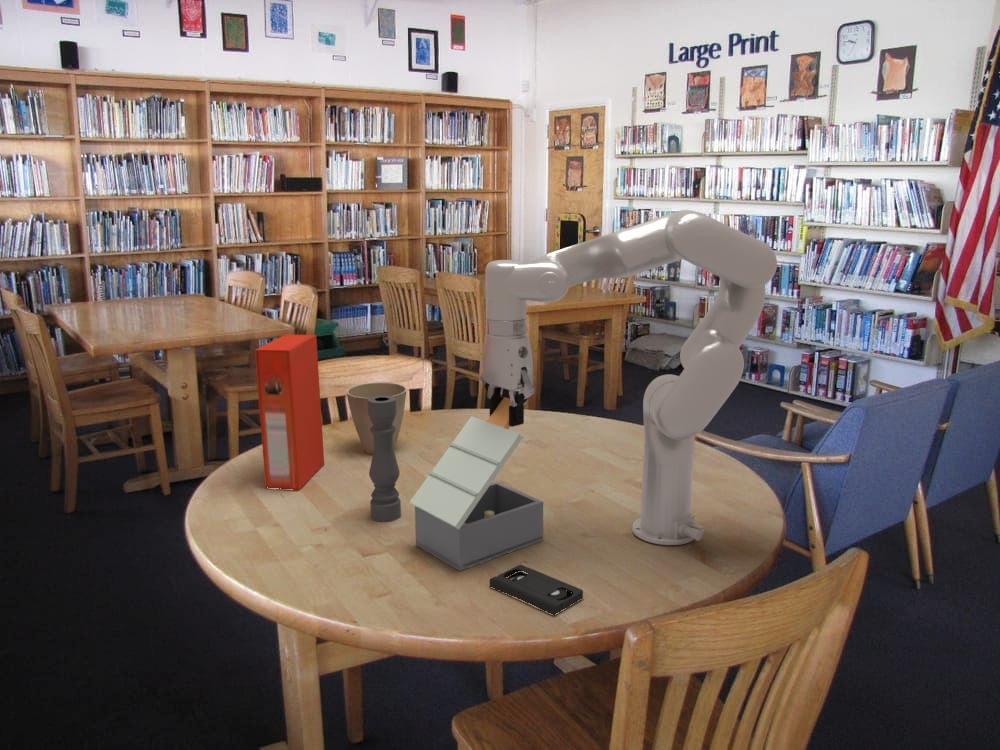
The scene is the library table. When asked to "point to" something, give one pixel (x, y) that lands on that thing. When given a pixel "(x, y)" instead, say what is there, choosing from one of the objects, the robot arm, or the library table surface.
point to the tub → (483, 528)
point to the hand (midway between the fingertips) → (506, 420)
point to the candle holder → (383, 460)
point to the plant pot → (360, 409)
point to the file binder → (290, 410)
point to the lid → (468, 467)
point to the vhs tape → (537, 589)
